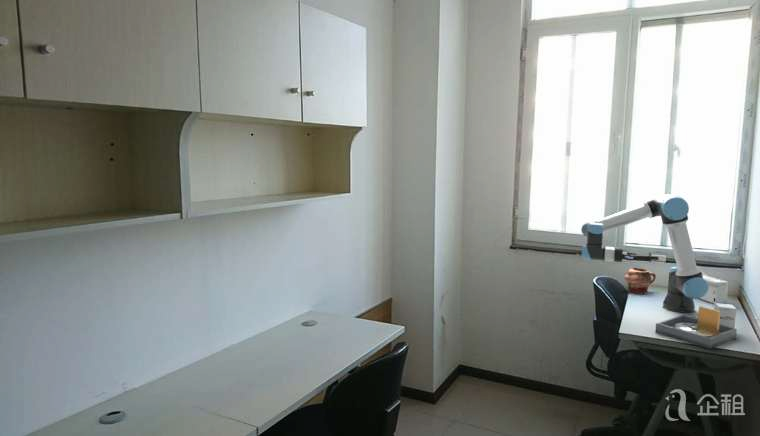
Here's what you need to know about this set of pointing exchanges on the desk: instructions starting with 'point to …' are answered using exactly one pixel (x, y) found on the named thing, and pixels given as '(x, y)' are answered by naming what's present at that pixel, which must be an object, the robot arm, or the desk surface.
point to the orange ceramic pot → (639, 280)
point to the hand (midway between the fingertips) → (665, 258)
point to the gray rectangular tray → (669, 330)
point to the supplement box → (726, 314)
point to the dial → (703, 323)
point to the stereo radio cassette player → (715, 290)
